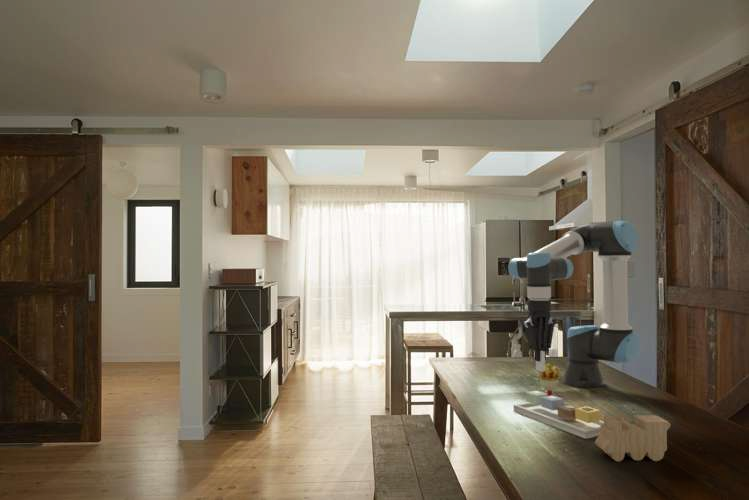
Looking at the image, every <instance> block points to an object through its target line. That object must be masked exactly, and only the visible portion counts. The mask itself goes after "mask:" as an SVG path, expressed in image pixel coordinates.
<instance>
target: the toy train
mask: <svg viewBox="0 0 749 500" xmlns="http://www.w3.org/2000/svg"><path fill="white" fill-rule="evenodd" d="M603 421H604V424H601V428H600V435H599V436H597V438H596V439H595V441H594V444H595V445H596V446H597V447H599V448H600V450H602V451H603V452H604V453H605V454H607V455H608V456H609V457H610V458H611V459H613V460H614V461H616V462H622V461H623V460H624V458H625V455H626V456H628V457H630V458H631V459H633V460H634V461H642V460H643V459H644V458H645V457H646V458H649V459H650V460H652V461H654V462H658V461H659V462H660V461H661V460H662V459H664V456H665V452H666V451H667V450H668V441H667V440H668V436H667V435H668V434H667V432H668V430H669V429H670V428H671V426H672V424H671V422H669V421H668V420H666V419H664V418H662V417H660V416H659V415H656V414H653V415H652V414H651V415H650V414H649V415H647V414H646V415H643V414H642V415H641V414H639V415H638V414H637V415H635V416H634V423H630V422H629V421H627V420H625V419H623V418H622V419H620V420H618V419H616V418H614V417H613V416H611V415H609V414H608V415H603Z"/></svg>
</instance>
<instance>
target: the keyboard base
mask: <svg viewBox="0 0 749 500" xmlns="http://www.w3.org/2000/svg"><path fill="white" fill-rule="evenodd" d="M513 411H514V412H515V413H517V414H521V415H524V416H525V417H528V418H531V419H533V420H536V421H539V422H541V423H544V424H547V425H549V426H552V427H554V428H557V429H560V430H562V431H564V432H567V433H570V434H572V435H575V436H576V437H577V436H578V437H580V438H582V439H585V440H586V439H591V438H595V437H598V436H599V435H600V428H601V424H604V420H601V419H600V421H596V422H591V423H587V422H584V421H581V420H578V419H576V420H571V421H569V420H567V419H564V418H561V417H558V410H550V409H547V408H544V407H541V404H538V405H536V404H533V403H530V402H522V403H517V404H516V403H515V404H513Z"/></svg>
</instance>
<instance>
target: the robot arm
mask: <svg viewBox="0 0 749 500" xmlns="http://www.w3.org/2000/svg"><path fill="white" fill-rule="evenodd" d="M638 245H639V237H638V232H637V230H636V228H635V226H634V225H633V224H632V223H631V222H629V221H626V220H613V221H597V222H596V221H595V222H587V223H584V224H581V225H579V226H577V227H574V228H573V229H571V230H569V231H566V232H565V233H564V234H563V235H562V237H560V238H559V239H557V240H555V241H553V242H551V243H550V244H547V245H545V246H544V247H542V248H539V249H538V250H536V251H534V252H529V253H527V255H526V256H523V257H514V258H512V259H511V260H509V262H508V266H507V267H508V268H507V269H508V273H509V275H510V277H512V278H514V279H520V280H522V279H523V280H527V283H526V284H527V285H526V286H527V287H526V291H527V293H526V294H527V295H526V296H527V298H528V300H526V301H527V311H528V313H529V314H528V319H526V320H523V321H522V325H523V326H524V327H523V328H524V329H525V330H524V331H525V334H526V339H527V344H528V349H529V350H532V351H533V352H534V358H533V359H534V361H535V371H538V372H539V371H541V372H543V371H545V370H546V368H545V365H546V361H547V352H549V349H551V347H552V342H553V335H554V330H555V326H556V323H557V319H556V318H552V315H551V314H550V313H551V311H552V301H551V298H552V281H558V280H559V281H564V280H566V279H569V278H571V276H572V275H573V273H574V264H573V262H572V261H571V260H570V259H569V257H570V256H571V255H575V256H576V255H579V254H581V253H588V252H594V253H595V252H596V253H597V255H598V256H597V257H598V258H600V259H601V261H602V311H603V312H602V313H603V315H602V316H603V317H602V318H603V321H602V324H600V325H599V326H598V325H596V324H595V325H594V324H592V325H577V326H571V327H569V328H567V329H568V330H567V337H566V338H567V365H566V368H565V372H564V374H563V383H565V384H566V385H569V386H571V387H572V386H573V387H579V388H600V387H603V386H604V385H605V381H604V379H605V378H604V377H603V374H602V371H601V367H600V361H604V362H610V363H615V364H623V365H624V364H625V365H628V364H632V362H634V360H635V359H636V358H637V356H638V353H639V350H640V339H639V336H638V335H637V334H636V333H633V327H632V326H631V325H630V324H629V306H628V303H629V301H628V300H629V298H628V296H629V295H628V261H629V259H630V258H631V257H632V252H634V251H636V250H637V248H638Z"/></svg>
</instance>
